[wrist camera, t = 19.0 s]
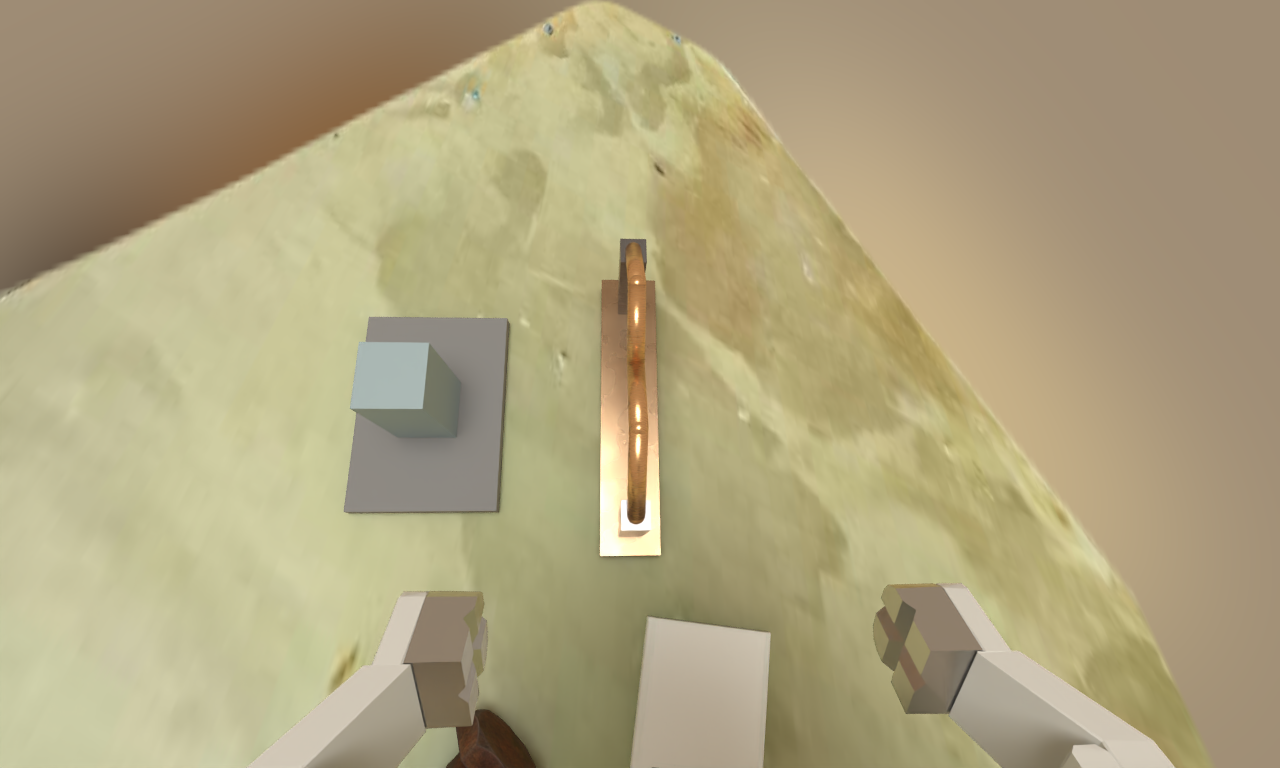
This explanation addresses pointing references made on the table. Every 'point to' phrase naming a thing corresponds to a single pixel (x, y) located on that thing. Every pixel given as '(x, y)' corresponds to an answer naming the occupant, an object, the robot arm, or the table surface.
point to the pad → (438, 467)
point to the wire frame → (629, 410)
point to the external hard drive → (701, 696)
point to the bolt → (489, 745)
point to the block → (406, 390)
